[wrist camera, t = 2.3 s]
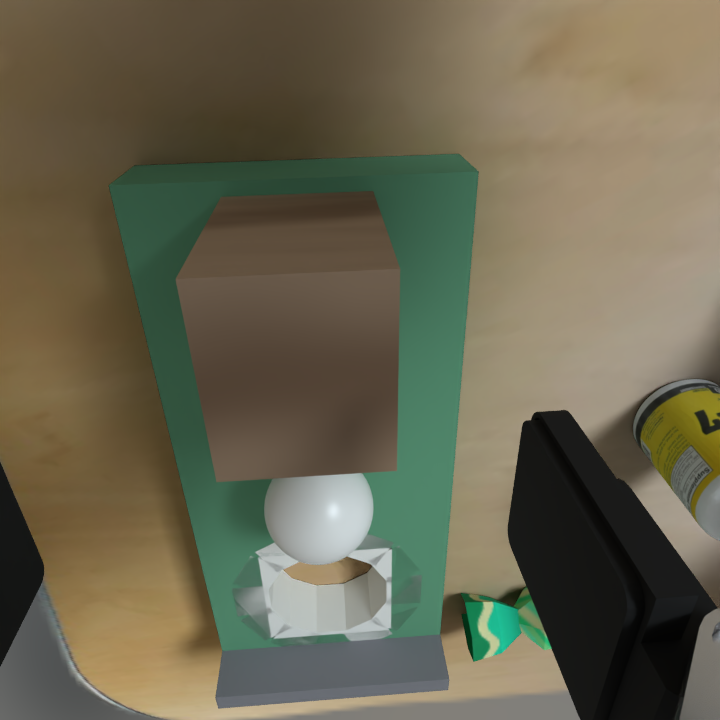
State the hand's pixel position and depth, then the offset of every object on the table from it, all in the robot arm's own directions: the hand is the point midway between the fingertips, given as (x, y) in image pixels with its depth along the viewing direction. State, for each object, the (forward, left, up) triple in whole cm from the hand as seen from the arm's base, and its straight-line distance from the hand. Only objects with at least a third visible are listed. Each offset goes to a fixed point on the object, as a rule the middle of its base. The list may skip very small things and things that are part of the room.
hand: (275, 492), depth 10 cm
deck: (+10, 0, -14) cm, 17 cm away
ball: (+9, 0, -9) cm, 13 cm away
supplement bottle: (+10, +18, -14) cm, 25 cm away
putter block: (0, 0, -11) cm, 11 cm away
